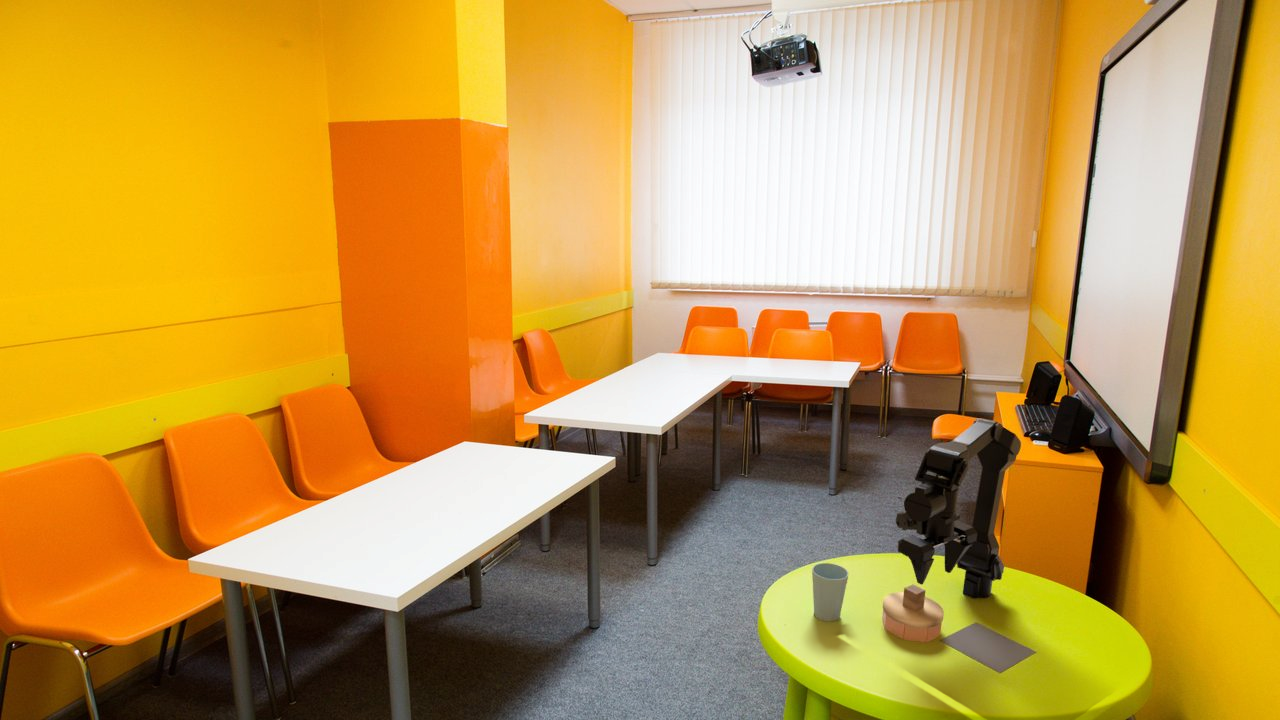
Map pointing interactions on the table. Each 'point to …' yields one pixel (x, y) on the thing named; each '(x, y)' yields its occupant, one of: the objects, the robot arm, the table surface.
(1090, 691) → the table surface
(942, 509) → the robot arm
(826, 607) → the cup
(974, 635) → the mat
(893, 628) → the ring
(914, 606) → the lid
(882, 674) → the table surface
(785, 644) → the table surface
